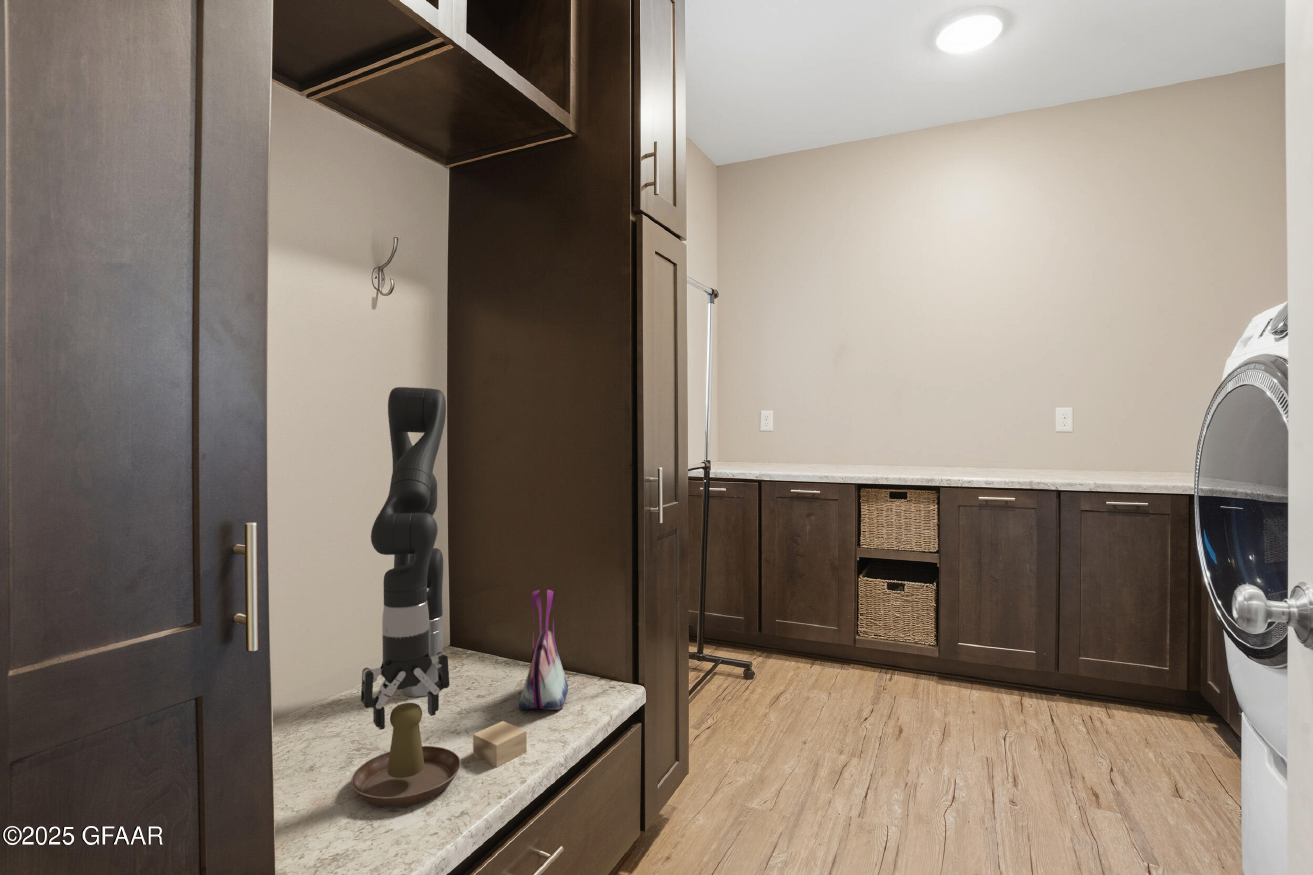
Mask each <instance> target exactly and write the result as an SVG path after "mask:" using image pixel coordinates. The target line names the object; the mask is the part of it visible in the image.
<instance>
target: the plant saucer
mask: <svg viewBox="0 0 1313 875" xmlns="http://www.w3.org/2000/svg"><path fill="white" fill-rule="evenodd" d="M422 751H423V758H424V768H423V770H422V771H421V772H419V773H418V774H416V775H413V776H410V777H406V778H394V777H391V776H390V775H388V773H387V769H388V762H389V755H390V751H387V752H384V753H381V754H379V755H377V756H374V757H373V758H371V759H369V760H367V761H366V762H364V763H363V764H361V765H360V766H359V767H358V768H357V769H356V770H355V772H354V773H353V774H352V776H351V780H350V782H351V783H350V784H351V787H352V788H353V790H354V791H355V793H356V794H358V796H359V797H360V798H361V799H362V800H363V801H366V803H368V804H370V805H372V806H375V807H378V808H379V807H381V808H387V809H389V808H391V809H392V808H402V807H403V808H404V807H410V806H414V805H416V804H417V805H418V804H421V803H424V802H426V801H428V800H431V799H432V798H434V797H436V796H438V795H439V794H441V793H443V791H445V790H446V789H447V788H448V786H449V785H450V784H451V783H452V781H453V780H454V779H455V777H456V776H457V775H458V772H460V768H461V765H462V764H461V763H462V762H461V761H462V760H461V759H460V756H459V755H458V754H457V753H456V752H454V751H452V750H450V749H448V748H445V747H440V746H431V745H422Z"/></svg>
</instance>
